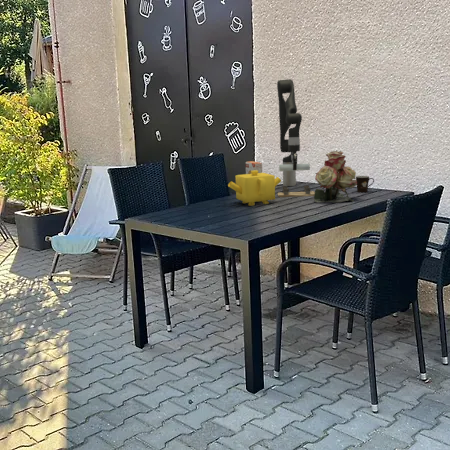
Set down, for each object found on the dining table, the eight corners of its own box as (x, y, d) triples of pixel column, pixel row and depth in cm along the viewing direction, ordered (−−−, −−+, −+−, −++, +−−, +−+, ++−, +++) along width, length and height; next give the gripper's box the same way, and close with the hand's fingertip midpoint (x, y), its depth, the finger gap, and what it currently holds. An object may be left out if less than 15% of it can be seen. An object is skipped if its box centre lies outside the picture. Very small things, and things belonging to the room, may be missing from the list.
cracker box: (246, 191, 406) (245, 161, 402) (253, 190, 409) (252, 160, 404) (255, 194, 394) (254, 163, 389) (263, 193, 396) (262, 162, 392)
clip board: (277, 194, 390) (277, 186, 388) (313, 193, 389) (313, 185, 388) (278, 197, 379) (278, 189, 378) (316, 195, 378) (315, 187, 377)
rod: (279, 171, 390) (279, 165, 389) (279, 170, 394) (279, 164, 393) (309, 170, 389) (309, 164, 388) (309, 169, 393) (309, 162, 392)
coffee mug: (355, 192, 383) (355, 177, 381) (356, 190, 391) (356, 175, 389) (373, 192, 380) (373, 177, 378) (374, 190, 388) (374, 175, 386)
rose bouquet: (313, 203, 352) (312, 153, 345) (317, 195, 379) (316, 149, 373) (356, 203, 346) (357, 152, 339) (357, 195, 373) (358, 148, 367)
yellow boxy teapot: (270, 196, 382) (269, 165, 378) (290, 203, 355) (290, 170, 351) (220, 201, 371) (218, 170, 367) (237, 209, 344) (235, 175, 340)
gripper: (287, 143, 395) (288, 168, 398) (289, 145, 381) (289, 171, 384) (298, 142, 395) (299, 168, 398) (300, 144, 381) (301, 170, 384)
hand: (294, 169), depth 391 cm, fingers closed on rod, 4 cm apart
